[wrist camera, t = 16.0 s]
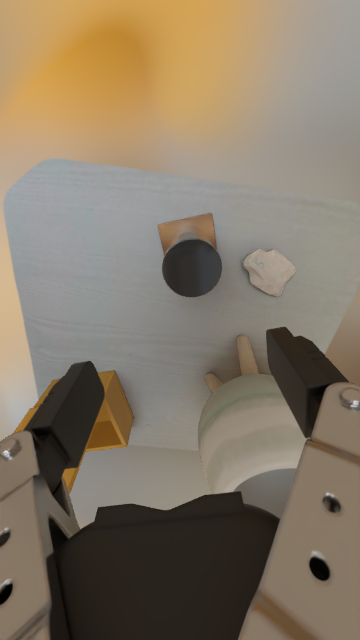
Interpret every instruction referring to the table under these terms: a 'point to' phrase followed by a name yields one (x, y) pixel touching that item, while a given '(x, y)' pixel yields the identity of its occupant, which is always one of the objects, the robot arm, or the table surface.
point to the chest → (108, 415)
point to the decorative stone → (269, 271)
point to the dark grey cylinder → (191, 263)
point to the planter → (249, 436)
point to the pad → (198, 221)
